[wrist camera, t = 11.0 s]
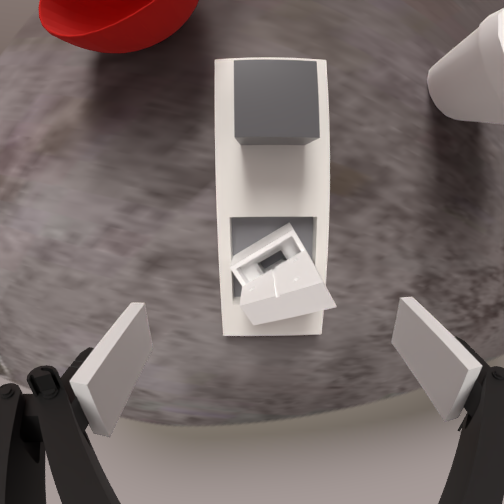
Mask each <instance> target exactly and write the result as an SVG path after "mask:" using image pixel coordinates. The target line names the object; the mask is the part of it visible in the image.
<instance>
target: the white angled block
mask: <svg viewBox="0 0 504 504" xmlns="http://www.w3.org/2000/svg"><path fill="white" fill-rule="evenodd" d="M280 250H281V251H282V253H283V254H284V256H285V257H284V258H282V259H281V260H279V261H277V262H276V263H274V264H272V265H271V266H269V267H267V268H265V269H264V268H263V266H262V265H261V263H260V262H261V261H263V260H265V259H266V258H268V257H270V256H271V255H273V254H275V253H276V252H278V251H280ZM230 269H231V270H232V272H233V273H234V275H235V276H236V278H237V279H238V281H239V282H240V284H241V285H242V291H241V298H240V305H239V306H240V307H241V309H242V310H243V311H244V313H245V314H246V316H247V317H248V318H249V320H250V321H251V323H252V324H253V325H258V324H263V323H268V322H273V321H278V320H282V319H287V318H291V317H296V316H300V315H305V314H309V313H313V312H317V311H322V310H326V309H330V308H334V307H337V306H336V304H335V302H334V300H333V298H332V297H331V295H330V293H329V291H328V289H327V287H326V285H325V283H324V282H323V280H322V278H321V276H320V274H319V272H318V271H317V269H316V267H315V265H314V263H313V261H312V260H311V258H310V256H309V254H308V253H307V251H306V249H305V247H304V246H303V244H302V242H301V241H300V239H299V237H298V236H297V234H296V232H295V231H294V229H293V227H292V226H291V224H290V222H289V223H287V224H286V225H284V226H282V227H281V228H279V229H277V230H276V231H274V232H272V233H271V234H269V235H267V236H266V237H264V238H262V239H261V240H259V241H257V242H256V243H254V244H252V245H251V246H249V247H247V248H246V249H244V250H242V251H241V252H239V253H237V254H236V255H234V256H233V258H232V261H231V264H230Z"/></svg>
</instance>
